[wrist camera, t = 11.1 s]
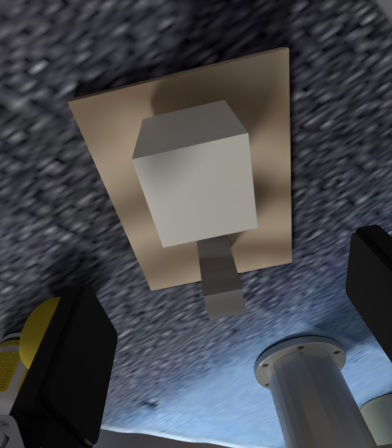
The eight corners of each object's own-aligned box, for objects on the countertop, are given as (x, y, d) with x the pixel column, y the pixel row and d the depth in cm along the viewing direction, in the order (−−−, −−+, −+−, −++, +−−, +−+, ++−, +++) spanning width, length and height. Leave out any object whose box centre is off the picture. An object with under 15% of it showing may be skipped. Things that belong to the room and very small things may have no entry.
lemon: (58, 271, 28) (23, 348, 21) (106, 296, 30) (89, 371, 24) (29, 300, 30) (-10, 379, 23) (77, 321, 32) (53, 398, 26)
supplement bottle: (-6, 347, 34) (-61, 448, 26) (14, 324, 32) (-39, 426, 24) (39, 361, 36) (1, 458, 28) (60, 341, 34) (26, 439, 26)
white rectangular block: (234, 174, 21) (257, 227, 15) (164, 190, 21) (163, 247, 16) (224, 99, 18) (248, 133, 12) (143, 118, 18) (131, 159, 13)
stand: (287, 254, 29) (323, 324, 22) (151, 281, 29) (146, 357, 23) (282, 46, 18) (348, 60, 12) (73, 98, 19) (20, 138, 12)
